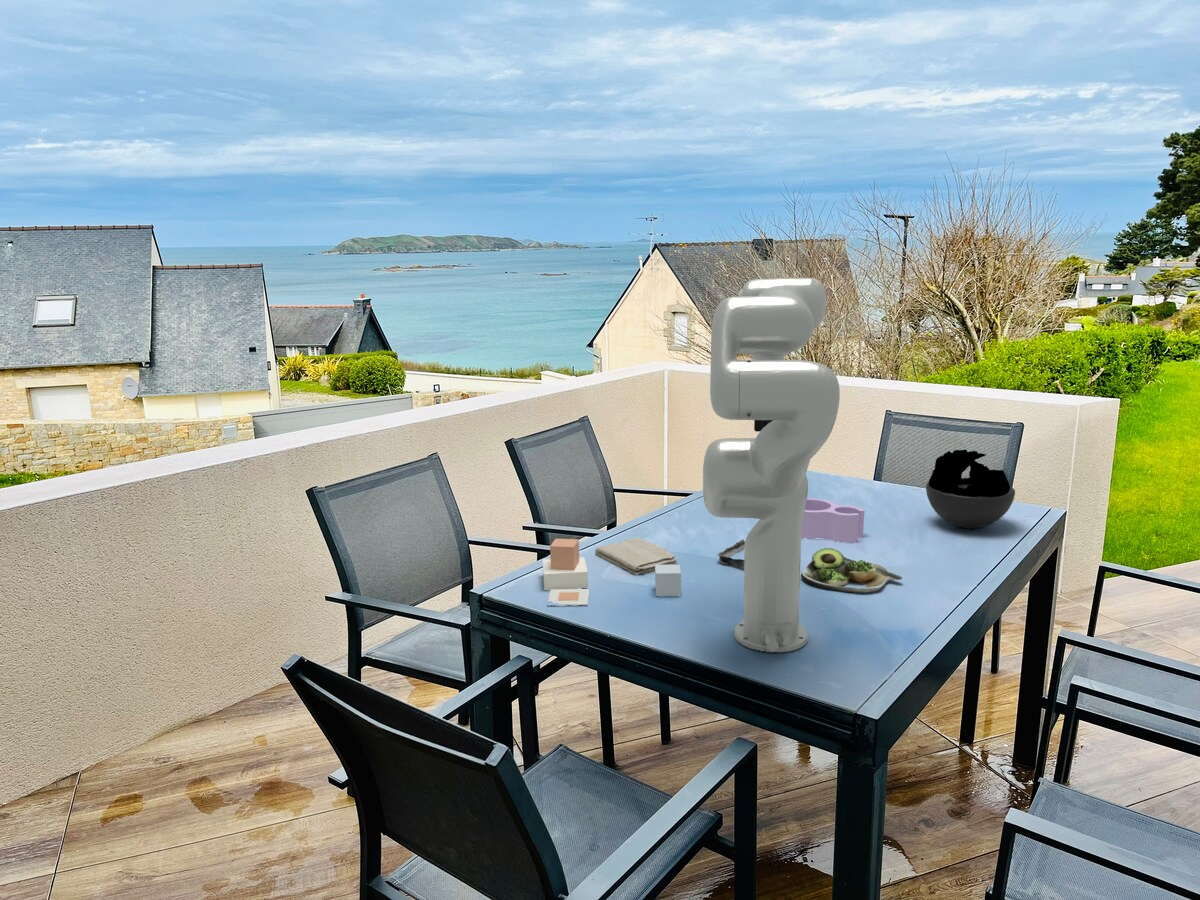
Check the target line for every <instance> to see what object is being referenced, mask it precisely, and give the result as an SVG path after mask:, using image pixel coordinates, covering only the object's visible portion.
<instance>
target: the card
mask: <svg viewBox="0 0 1200 900" xmlns="http://www.w3.org/2000/svg"><path fill="white" fill-rule="evenodd" d="M589 591H591V590H590V588H588V589H551V590H550V591H549V595H548V599H549V600H548V599H547V602H548V601H552V602H553V603H559V604H561V605H567V604H568V605H588V606H589V600H588V599H590V592H589ZM555 601H556V602H555Z"/></svg>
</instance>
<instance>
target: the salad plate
mask: <svg viewBox="0 0 1200 900" xmlns="http://www.w3.org/2000/svg"><path fill="white" fill-rule="evenodd" d="M801 578H802V580H803V581H804V582H805V583H806V584H807V585H810V586H811V587H816V588H819V589H824V590H833V591H839V592H847V593H858V594H861V593H862V594H863V593H864V594H866V593H873V592H874V593H875V592H878V591H880V590H881V589H883V588H884V587H885V585H886V584H887V583H888V582H889V581H894V580H897V581H898V580H900V581H901V580H902V579H903V576H902V575H898V574H896V573H892V572H889V570H888V569H887V568H886V567H884V566H882V565H880V564H877V563H874V562H869V561H867V562H866V561H865V560H863V559H860V560H858V561H857V560H854V559H850V558H847V557H846V556H844V555H843V554H842V553H841V551H840V550H837V549H835V548H831V547H829V548H828V547H825V548H822V549H819V550H816V552H815V553H813V555H812V557H811V562H809V563H808V564H807V566H806V567H805V568H804V569H803V570H802V572H800V579H801ZM849 584H858V585H866V586H865V587H851V586H849V587H848V586H845V585H849Z"/></svg>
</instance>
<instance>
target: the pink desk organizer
mask: <svg viewBox="0 0 1200 900" xmlns="http://www.w3.org/2000/svg"><path fill="white" fill-rule="evenodd" d="M864 522H865V510H864V508H861V507H858V506H853V505H841V504H838V503H835V502H833V501H830V500H827V499H821V498H816V497H815V498H812V497H810V498H809V497H807V500H806V505H805V511H804V516H803V523H802V534H801V539H803V538H808V539H807V540H816V539H815V538H826V539H825V540H829V539H831V540H830V541H833V540H835V541H834V542H837V541H839V542H838V543H843V542H846V543H845V544H853V542H855V543H859V539H863V538H864V527H865V526H864V525H865V523H864ZM858 537H859V538H858ZM809 538H810V539H809ZM813 538H814V539H813Z"/></svg>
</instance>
